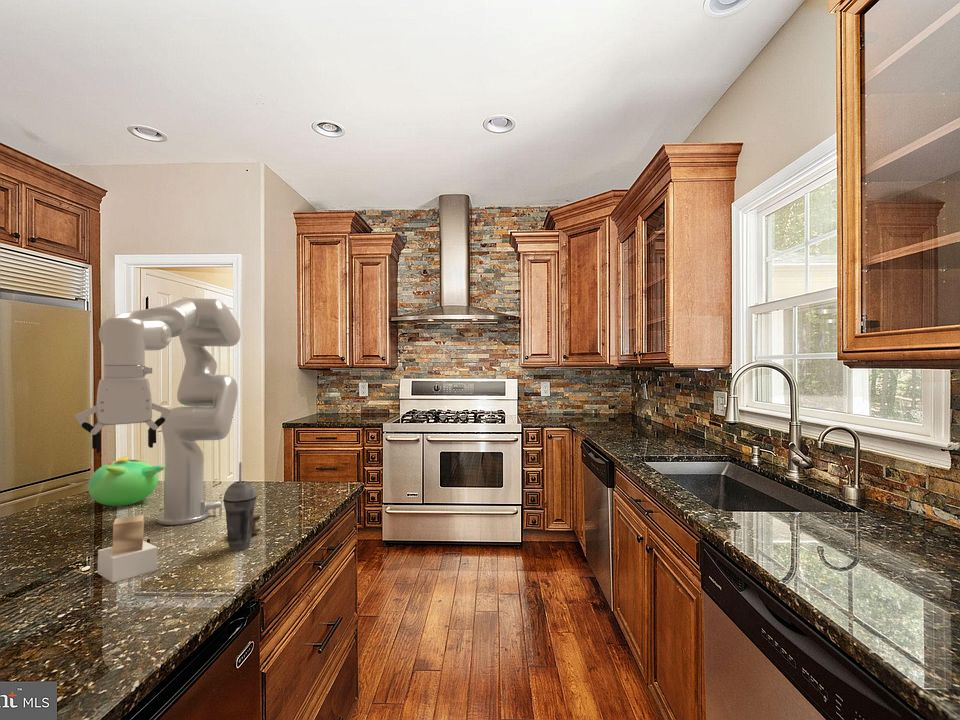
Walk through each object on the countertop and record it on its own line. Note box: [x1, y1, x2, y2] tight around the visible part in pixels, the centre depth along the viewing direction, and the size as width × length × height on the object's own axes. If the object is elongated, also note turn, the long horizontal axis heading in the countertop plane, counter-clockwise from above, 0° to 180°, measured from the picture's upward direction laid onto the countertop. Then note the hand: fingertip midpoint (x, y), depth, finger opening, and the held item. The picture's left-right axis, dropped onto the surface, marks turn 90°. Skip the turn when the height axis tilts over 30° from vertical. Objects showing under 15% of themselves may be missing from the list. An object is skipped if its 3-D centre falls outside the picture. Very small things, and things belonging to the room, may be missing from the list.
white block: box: [97, 540, 158, 583], centre depth 106 cm, size 8×8×5 cm
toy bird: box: [87, 455, 165, 507], centre depth 158 cm, size 18×17×15 cm
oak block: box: [112, 514, 145, 554], centre depth 106 cm, size 5×5×6 cm
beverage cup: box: [222, 461, 258, 551], centre depth 121 cm, size 7×7×20 cm
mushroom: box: [251, 512, 261, 536], centre depth 129 cm, size 8×8×6 cm
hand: (125, 449), depth 113 cm, fingers open, 9 cm apart
